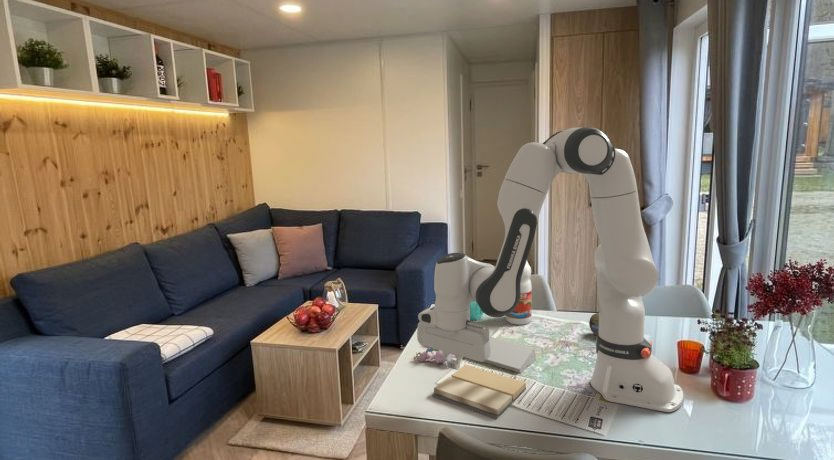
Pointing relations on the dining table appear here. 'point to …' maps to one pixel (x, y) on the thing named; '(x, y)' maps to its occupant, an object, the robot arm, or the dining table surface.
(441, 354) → the rabbit figure
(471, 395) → the ash plank
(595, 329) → the tin
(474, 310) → the decorative dice
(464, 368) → the laid floor
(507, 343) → the decorative molding
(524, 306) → the fruit juice
